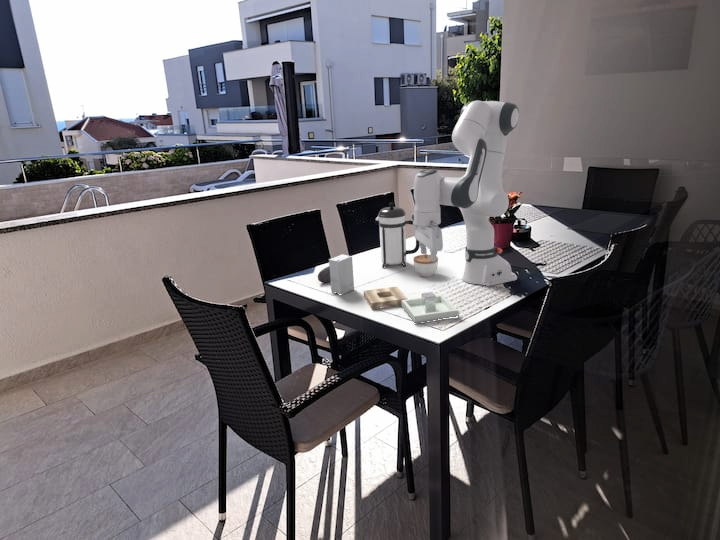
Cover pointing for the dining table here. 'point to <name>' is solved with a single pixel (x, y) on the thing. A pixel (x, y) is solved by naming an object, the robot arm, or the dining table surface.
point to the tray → (418, 315)
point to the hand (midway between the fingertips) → (428, 257)
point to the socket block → (384, 297)
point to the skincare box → (341, 274)
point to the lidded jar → (425, 265)
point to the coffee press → (393, 236)
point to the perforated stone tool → (324, 275)
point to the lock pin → (428, 302)
